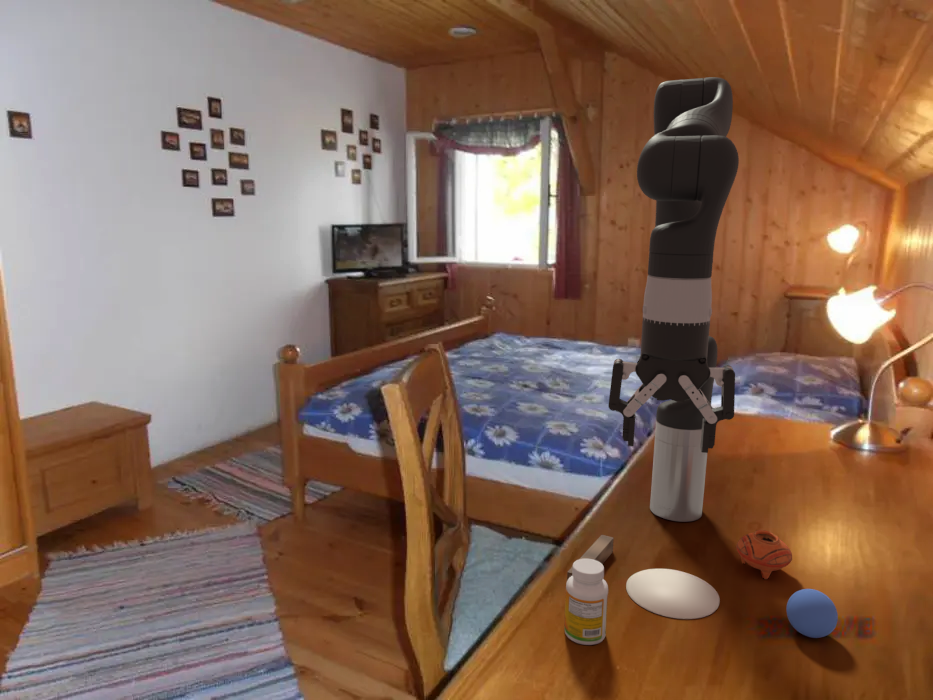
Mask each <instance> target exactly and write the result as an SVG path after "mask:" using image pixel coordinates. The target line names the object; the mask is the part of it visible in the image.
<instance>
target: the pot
mask: <svg viewBox="0 0 933 700" xmlns="http://www.w3.org/2000/svg"><path fill="white" fill-rule="evenodd" d="M736 551H737V554H738V555H739V556H740V560H741V562H742V563H741V564H743V563H744V564H743V565H746V563H747V564H748V565H749V566H751V567H752V568H754V569H757V570H759V571H760V575H761V577H762V579H763V578H764V580H768V578H770V575H771V574H772V572H773V571H779V570H782V569H783V568H785V567H787V566H788V565H789V564H791V563H792V562H793V561H792V560H793V553H792V551H791V548H789V546H788V545H787V543H785V542H784V541H783V540H781V539H780V537H779V536H778V535H776V534H775V533H772V532H771V531H769V530H765V529H758V530H757V529H756V530H755V531H754V532H749V533H747V534H744V535H743V536H742V537H741V538H739V540H738V541H737V542H736Z"/></svg>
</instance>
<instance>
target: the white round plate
mask: <svg viewBox="0 0 933 700" xmlns="http://www.w3.org/2000/svg"><path fill="white" fill-rule="evenodd" d="M625 587H626V588H625V589H626V592H627V593H626V594H627V595H628V596H629V598H630V599H631V600H632V601H633V602H634V603H636V604H637V606H639V607H641V608H643V609H645V610H647V611H648V612H651V613H654V614H656V615H659V616H662V617H666V618H669V619H670V618H672V619H676V620H677V619H678V620H694V619H696V620H697V619H701V618H705V617H708V616H710V615H712V614H714V613H715V612H716V610H717V609H718V608H719V606H720V602H721V601H720V600H721V599H720V595H719V593H718V591H716V589H715V588H714V587H713V586H712V585H711V584H710V583H708V582H707V581H705V580H704V579H702V578H700V577H698V576H696V575H693V574H690V573H688V572H684V571H681V570H677V569H671V568H648V569H643V570H640V571H637V572H635V573H633V574H632V575H631V576H629V578H628V579H627V580H626V584H625Z"/></svg>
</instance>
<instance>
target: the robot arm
mask: <svg viewBox="0 0 933 700" xmlns="http://www.w3.org/2000/svg"><path fill="white" fill-rule="evenodd" d="M653 103H654V104H653V132H654V133H653V136H651V138H650V139H649V140H648V141H647V142H646V143H645V145H644V147H643V148H642V150H641V153H640V155H639V158H638V161H637V166H636V167H637V168H636V178H637V179H636V180H637V184H638V186H639V189H640V190H641V192H642V193H643V194H644V195H645V196H646V197H647V198H649V199H651V200H654V201H655V203H656V204H655V222H654V223H655V224H654V226H655V227H654V228H653V229H652V230H651V233H650V237H649V245H648V247H649V250H648V252H649V253H648V267H647V279H646V284H645V289H644V296H643V305H642V324H641V337H640V338H641V339H640V340H641V341H640V355H639V357H638V358H639V359H638V360H637V362H633V361H632V362H631V361H624V360H623V359H622V358H616V359H615V360H614V362H613V364H612V372H611V382H610V390H609V397H608V405H607V406H608V409H609V410H610V411H615V412H618V413H620V414H621V415H622V417H623V418H622V421H623V422H622V434H621V435H622V436H621V437H622V440H623V442H627V446H628V447H634V443H635V426H636V412H637V411H638V410H639V409H640V408H641V407H642V406H644V404H646V402H648V400H650V398H651V397H652V398H654V399H655V400H657V401H663V402H661V403H659V404H658V406H657V408H656V415H655V417H656V418H655V431H654V446H653V460H652V461H653V462H652V473H651V474H652V475H651V488H650V490H651V491H650V501H649V509H650V511H651V512H652V513H653V514H654V515H655V516H657V517H659V518H663V519H665V520H669V521H673V522H681V523H682V522H684V523H685V522H686V523H687V522H695V521H697V520H699V519H701V517H702V516H703V505H704V504H703V503H704V495H705V494H704V493H705V482H706V474H707V473H706V471H707V459H708V453H709V449H713V448H714V446H715V443H716V430H717V424H718V423H719V422H721V421H723V420H727V421H728V420H732V419H733V418H734V417H735V403H736V402H735V399H736V398H735V393H736V373H735V371H734V369H733V367H732V366H731V365H730V364H725V365H723V366H722V367H717V362H718V361H717V360H718V344H717V341H716V339H715V338H714V337H713V336H711V335H710V327H711V317H712V315H713V314H712V313H713V308H712V304H713V303H712V302H713V290H712V274H713V273H712V272H713V263H714V250H715V242H716V236H717V231H718V227H719V223H720V219H721V217H722V214H723V211H724V208H725V206H726V205H725V204H726V203H727V199H728V198H729V196H730V193H731V190H732V187H733V185H734V182H735V179H736V176H737V173H738V170H739V161H740V159H739V151H738V149H737V147H736V145H735V144H734V142H733V141H732V140H731V139H730V138H729V137H727V136H728V134H729V131H730V128H731V124H732V119H733V110H734V109H733V108H734V107H733V105H734V104H733V103H734V100H733V91H732V86H731V85H730V83H729V81H728V80H726V79H724V78H722V77H714V76H713V77H711V76H710V77H700V78H698V77H697V78H689V79H675V80H666V81H663V82H661V83H660V84H659V85H658V87H657V89H656V92H655V94H654V100H653ZM632 373H635V374H636V376H637V378H638V379H639V380H640V381H641V384H640V386H638V388H637V389H636V390H635V392H634V393H633V395H632V396H631V397H629V398H628V400H626V401H625V400H623V399H621V390H622V383H623V381H626V380H628V379H629V378H630V375H631V374H632ZM714 383H715V384H716V385H717V386H718V387H721V388H720V389H721V392H720V406H717V407H713V406H712V401H713V400H712V399H713V389H714Z"/></svg>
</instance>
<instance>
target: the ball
mask: <svg viewBox="0 0 933 700" xmlns="http://www.w3.org/2000/svg"><path fill="white" fill-rule="evenodd" d="M836 607H837V606H836V605H835V603H834V602H833V600H832V599H831V598H830V597H829V596H828V595H827V594H825V593H824V592H822V591H820V590H817V589H813V588H803V589H799V590H797V591H795V592H794V593H793V594H791V596H789V599H788V600H787V603H786V616H787V619H788V621H789V623H790V625H791V626H792V627H793V629H795V630H796V632H798V633H800V634H802V635H803V636H805V637H808V638H811V639H819V638H825V637H826V636H828V635H831V634H832V632H833V631H834V630H835V629H836V627H837V624H838V619H839V618H838V617H839V615H838V610H837V608H836Z"/></svg>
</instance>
